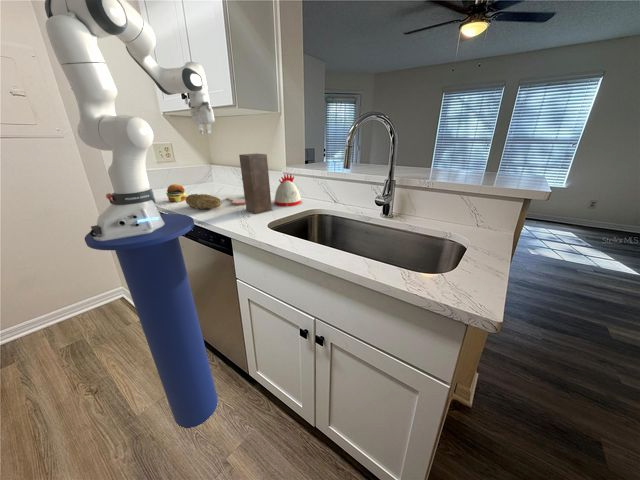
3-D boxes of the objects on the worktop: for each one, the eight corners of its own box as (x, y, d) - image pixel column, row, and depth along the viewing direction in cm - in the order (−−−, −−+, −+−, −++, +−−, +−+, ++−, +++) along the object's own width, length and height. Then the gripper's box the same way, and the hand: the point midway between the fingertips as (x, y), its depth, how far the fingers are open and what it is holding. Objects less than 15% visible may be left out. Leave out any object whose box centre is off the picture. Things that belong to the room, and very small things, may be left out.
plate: (236, 206, 135) (236, 203, 134) (222, 199, 148) (221, 197, 148) (251, 203, 140) (251, 201, 139) (235, 197, 153) (235, 195, 153)
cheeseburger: (167, 203, 142) (163, 184, 140) (169, 203, 151) (164, 186, 150) (188, 200, 146) (183, 182, 144) (188, 201, 156) (184, 184, 154)
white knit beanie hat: (305, 203, 137) (303, 174, 131) (280, 207, 131) (278, 177, 125) (294, 198, 148) (293, 171, 142) (271, 201, 142) (269, 173, 136)
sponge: (184, 209, 135) (195, 208, 120) (183, 194, 134) (194, 191, 119) (210, 209, 144) (223, 208, 129) (209, 194, 143) (223, 192, 128)
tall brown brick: (255, 213, 121) (248, 155, 111) (246, 210, 127) (239, 154, 117) (271, 210, 127) (266, 154, 117) (262, 206, 133) (256, 153, 123)
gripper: (215, 101, 121) (220, 133, 126) (199, 105, 135) (204, 133, 140) (201, 100, 117) (207, 133, 122) (187, 104, 131) (192, 133, 136)
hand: (205, 133), depth 131 cm, fingers open, 8 cm apart
